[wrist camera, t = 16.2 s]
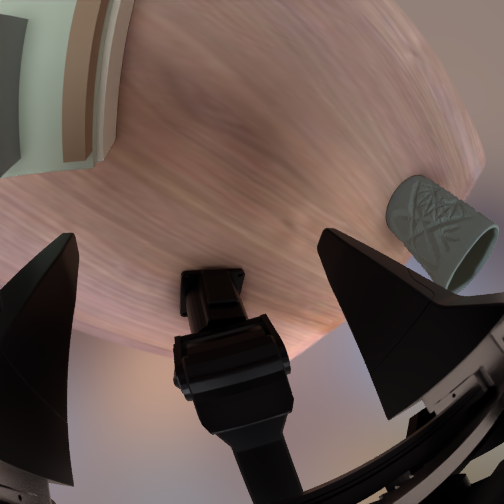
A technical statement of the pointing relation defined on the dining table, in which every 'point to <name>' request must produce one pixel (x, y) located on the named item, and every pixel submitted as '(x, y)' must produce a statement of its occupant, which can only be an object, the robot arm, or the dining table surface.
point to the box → (111, 76)
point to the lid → (59, 82)
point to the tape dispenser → (10, 88)
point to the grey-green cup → (441, 232)
